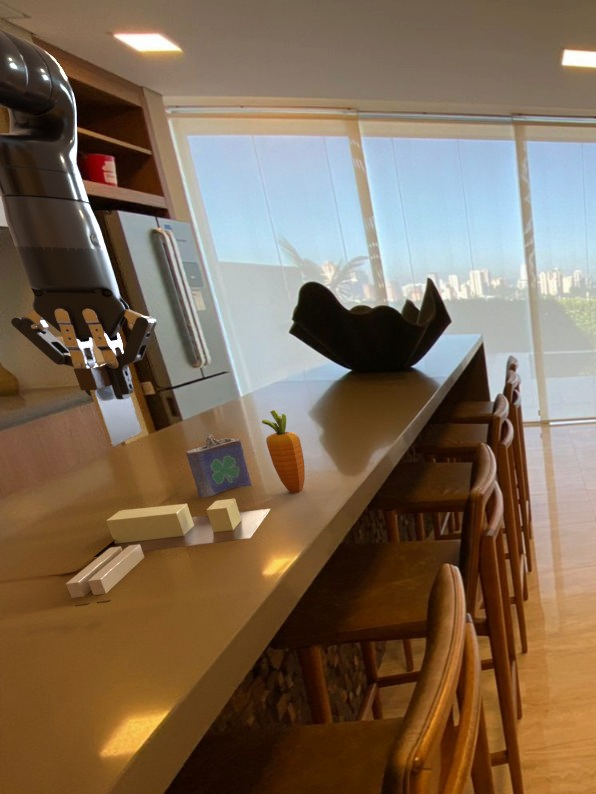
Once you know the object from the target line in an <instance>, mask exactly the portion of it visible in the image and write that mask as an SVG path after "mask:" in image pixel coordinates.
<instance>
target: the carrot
mask: <svg viewBox="0 0 596 794" xmlns="http://www.w3.org/2000/svg"><path fill="white" fill-rule="evenodd" d="M270 414H271V416H272V418H273V419H274V422H272V421H270V420H267V419H263V420H261V424H262V425H263V424H264V425H267V426H269V427H270V428H271V429H273V431H274V432H275V433H272V434H269V435H267V437H266V439H265V443H266V446H267V450H268V452H269V456H270V460H271V463H272V465H273V467H274V470H275V472H276V474H277V476H278V478H279V480H280V482H281V483H282V484H283V486H284V488H285V489H286V490H287V491H288V492H289V494H297V493H298V494H299V493H300V492H302V491H303V489H304V486H305V485H304V484H305V475H306V474H305V473H306V471H305V458H304V453H303V448H302V443H301V439H300V438H299V436H298V435H297V434H296V433H295V432H292V431H286V429H287V415H286V414H285V413H281V415H279V413H278V412H277V410H273V409H272V410H271V411H270Z"/></svg>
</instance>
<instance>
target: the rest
mask: <svg viewBox="0 0 596 794" xmlns="http://www.w3.org/2000/svg"><path fill="white" fill-rule="evenodd" d="M144 558H145V555H144V551H143V552H142V549H141V546H140V544H137V545H129V546H128V547H127V548H125V549H124V550H123V551H122V548H121V547H112V548H109V549H108V550H106V551H105V552H104V553H103V554H102V555H100V556H99V557H96V558H95V559H94V560H92V562H91V563H89V564H88V565H86V566H85V567H84V568H83V569H82V570H81V571H79V572H78V573H77V574H76V575H75V576H73V577H72V578H70V579H69V580H68V581H67V582H65V585H66V586H65V587H66V589H67V590H68V593H69V595H70V598H71V599H74V598H75V599H76V598H82V597H86V596H87V595H88V594H89V593H90V592H91V593H92V595H93V596H96V595H106V594H107V593H108V592H110V591H111V590H112V589H113V588H114V586H116V585H117V584H118V583H119V582H121V580H122V579H124V578H125V576H127V574H128V573H129V572H130V571H132V570H133V569H134V568H135V567H136V566H137V565H138V564H139V563H140V562H141V561H142V560H143V559H144ZM111 601H112V600H111V599H108V600H101V601H96V604H103V603H110V602H111ZM90 604H91V602H86V603H79V604H75V605H74V607H83V606H89V605H90Z"/></svg>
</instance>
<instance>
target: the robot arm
mask: <svg viewBox="0 0 596 794" xmlns="http://www.w3.org/2000/svg"><path fill="white" fill-rule="evenodd" d="M0 107H1V108H5V109H7V111H8V115H9V133H7V132H6V133H0V199H1V202H2V207H3V211H4V212H3V213H4V217H5V221H6V224H7V227H8V230H9V237H10V239H11V241H12V242H13V244H14V246H15V249H16V252H17V255H18V259H19V261H20V264H21V266H22V269H23V272H24V274H25V278H26V281H27V283H28V286H29V287H30V290H31V291H32V293H33V301H32V308H33V310H30V311H29V312H28V313H26V314H24V315H23V316H17V317H13V318H12V319H11V321H10V323H11V325H12V327H13V328H15V329H16V330H17V331H18V332H19V333H20V334H21V335H23V336H24V337H25V338H26V339H27V340H28V341H29V342H31V343H32V344H33V345H34V346H35V347H36V348H37V349H38V350H40V352H41V353H43V354H44V356H47V357H48V359H50V361H52V362H53V363H54V364H56V365H58V366H59V365H60V366H62V365H65V366H68V367H72V368H73V369H74V368H79V367H83V366H87V365H91V364H95V363H97V362H96V357H95V353H94V350H93V348H94V344H95V346H96V348H97V349H98V350H99V351H100V354H101V355H102V358H103V362H104V361H105V363H106V365H107V366H108V367H109V368H110V369H108V370H107V371H108V374H109V377H110V380H111V384H112V388H113V391H114V394H115V397H116V399H117V400H122V399H127V398H130V396H131V394H133V393H134V389H135V387H134V385H133V381H132V379H131V378H130V375H129V372H128V367H129V366H130V365H131V364H133V363H136V362H139V361H142V360H143V359H144V357H145V354H146V351H147V349H148V346H149V344H150V341H151V340H152V339H151V338H152V337H153V334H154V331H155V329H156V326H157V323H158V322H157V321H158V320H157V319H156V318H155V317H153V316H151V315H147V316H146V315H143V314H141V313H139V312H137V311H134V310H132V309H130V307H129V304H128V303H127V302H126V301H125V300H124V299H123V298H122V296H121V294H120V290H119V286H118V283H117V282H118V281H117V280H116V276H115V273H114V269H113V266H112V263H111V260H110V256H109V253H108V250H107V247H106V243H105V240H104V237H103V233H102V230H101V228H100V225H99V222H98V220H97V218H96V216H95V213H94V212H93V209H92V207H91V204H90V200H89V198H88V194H87V190H86V187H85V184H84V181H83V178H82V174H81V172H80V169H79V167H78V163H77V162H78V159H77V158H78V157H77V156H78V130H77V129H78V128H77V123H78V122H77V105H76V98H75V94H74V92H73V88H72V86H71V83H70V81H69V79H68V77H67V75H66V74H65V72H64V70H63V68H62V67H61V66H60V64H59V63H58V62H57V60H56V59H55V58H54V57H53V56H52V55H51V54H49V53H48V52H47V51H46V50H45V49H44V48H42V47H41V46H39V45H37V44H36V43H33V42H32V41H30V40H27V39H25V38H22V37H20V36H18V35H15V34H13V33H10V32H8V31H5V30H3V29H1V28H0ZM126 320H127V327H128V329H129V330H131V332H130V333H129V337H128V339H127V342H126V345H125V347H124V349H123V346H124V345H123V341H122V339H121V336H120V333H119V332H120V330H121V329H122V327H123V325H124V323H125V321H126ZM47 323H48V324H47ZM49 325H50V326H52V327H53V328H54V329H55V330H57V331H58V332H59V333H60V334H61V336H62V340H63V343H62V341H60V340H59V339H58V338H57V337H56V336H55V335H53V334H52V333H51V332H50V330H49ZM93 340H94V342H93ZM84 392H85V393H86V394H87V396H89V397H92V395H91V392H90V390H84Z"/></svg>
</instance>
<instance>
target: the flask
mask: <svg viewBox="0 0 596 794" xmlns="http://www.w3.org/2000/svg"><path fill="white" fill-rule="evenodd" d="M201 438H202V439H205V442H204V444H206V445H203V446H199V447H197V448H196V447H195V448H192V449H190V450H188V451H186V452H185V455H186V458H187V460H188V464H189V467H190V471H191V474H192V477H193V480H194V483H195V487H196V490H197V494H198V498H209V497H213V496H215V495H218V494H220V493H222V492H225V491H227V490H230V489H233V488H234V489H235V488H242V487H243V488H245V487H252V486H253V485H252V481H251V478H250V473H249V469H248V464H247V461H246V457H245V453H244V449H243V447H242V446H243V445H242V441H241V440H240V439H239V438H221V439H215V436H214V435H213V434H210V433H207V434H205V435H204V436H201Z"/></svg>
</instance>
